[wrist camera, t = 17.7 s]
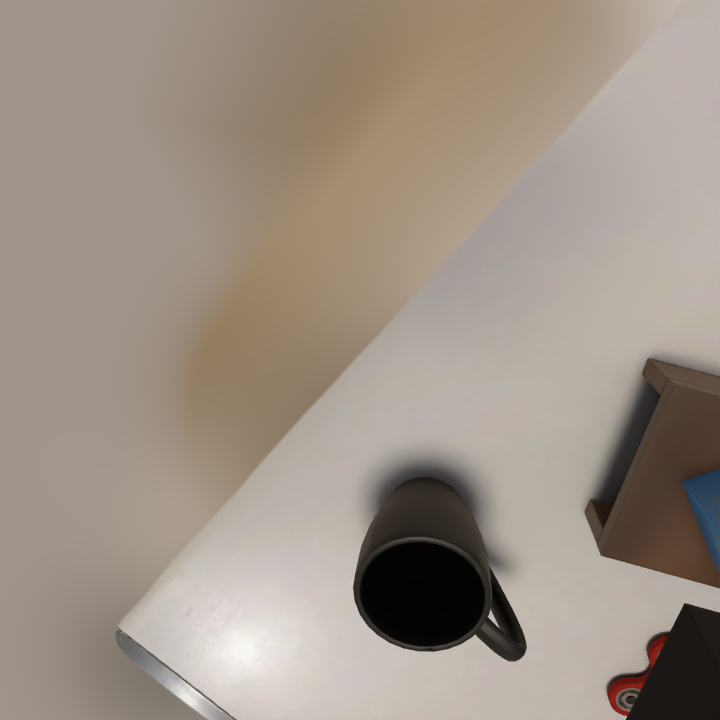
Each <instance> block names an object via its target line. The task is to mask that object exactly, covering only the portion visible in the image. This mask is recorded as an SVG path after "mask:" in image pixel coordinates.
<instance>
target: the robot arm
mask: <svg viewBox="0 0 720 720" xmlns="http://www.w3.org/2000/svg"><path fill="white" fill-rule="evenodd" d="M626 720H720V613H718V612H715V611H711V610H708V609H704V608H700V607H697V606H693V605H690V604H686V603H684V605H683V607H682V609H681V611H680V613H679V615H678V617H677V619H676V621H675V623H674V625H673V627H672V629H671V631H670V633H669V635H668V637H667V639H666V641H665V643H664V645H663V647H662V649H661V651H660V653H659V655H658V657H657V659H656V661H655V663H654V665H653V667H652V669H651V671H650V673H649V675H648V677H647V679H646V681H645V683H644V685H643V687H642V689H641V691H640V693H639V695H638V697H637V699H636V700H635V702H634V704H633V706H632V708H631V710H630V712H629V714H628V716H627V718H626Z"/></svg>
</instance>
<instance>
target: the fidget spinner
mask: <svg viewBox="0 0 720 720" xmlns="http://www.w3.org/2000/svg"><path fill="white" fill-rule="evenodd" d="M667 637H668V636H663V637H660V638H658V639H656V640H655V641H653V642H652V643H651V645H650V646H649V649H648V658H649V660H650V663H651V668H650V670H649V672H648V673H647V674H645V675H644V676H641V677H637V678H634V677H626V678H621V679H619V680H616V681H615V682H614V683H612V684H611V686H610V687H609V689H608V698H609V702H610V704H611V707H612V708H613V709H614V710H615V711H616V712H618V713H619V714H622V715H625V716H628V714H629V712H630V710H631V708H632V706H633V704H634V702H635V700H636V699H637V697H638V695H639V693H640V691H641V689H642V687H643V685H644V683H645V681H646V679H647V677H648V675H649V673H650V671H651V669H652V667H653V665H654V663H655V661H656V659H657V657H658V655H659V653H660V651H661V649H662V647H663V645H664V643H665V641H666V639H667ZM628 696H634V697H632V698H626V697H628Z"/></svg>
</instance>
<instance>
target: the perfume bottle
mask: <svg viewBox="0 0 720 720" xmlns="http://www.w3.org/2000/svg"><path fill="white" fill-rule="evenodd" d="M682 484H683V487H684V489H685V492H686V494H687V497H688V499H689V502H690V504H691V507H692V509H693V512H694V514H695V517H696V519H697V522H698V524H699V527H700V529H701V532H702V535H703V537H704V540H705V542H706V545H707V547H708V550H709V552H710V555H711V557H712V560H713V562H714V565H715V566H716V568H717V569H718V571H719V572H720V469H718V470H715V471H712V472H709V473H706V474H703V475H700V476H697V477H694V478H691V479H688V480H685V481H682Z"/></svg>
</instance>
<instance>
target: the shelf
mask: <svg viewBox="0 0 720 720" xmlns="http://www.w3.org/2000/svg"><path fill="white" fill-rule="evenodd" d="M642 375H643V376H644V378H645V379H646V380H647V381H648V382H649V383H650V384H651V385H652V386H653V387H654V389H655V390H656V391H657V392H658V393H659V394H660V395H661V396H660V399H659V401H658V403H657V406H656V408H655V410H654V413H653V415H652V417H651V420H650V422H649V424H648V427H647V429H646V431H645V434H644V436H643V438H642V441H641V443H640V445H639V448H638V450H637V452H636V455H635V457H634V459H633V462H632V464H631V466H630V469H629V471H628V473H627V476H626V478H625V480H624V483H623V485H622V487H621V490H620V492H619V494H618V497H617V499H616V501H615V504H614V506H612V505H608V504H604V503H600V502H597V501H593V500H590V502H589V504H588V507H587V509H586V511H585V515H586V518H587V520H588V523H589V525H590V528H591V531H592V533H593V536H594V538H595V541H596V543H597V547H598V549H599V552H600V554H601V556H604V557H608V558H612V559H615V560H619V561H623V562H626V563H630V564H634V565H637V566H641V567H644V568H648V569H652V570H655V571H659V572H663V573H666V574H670V575H673V576H677V577H681V578H684V579H688V580H692V581H695V582H699V583H703V584H706V585H710V586H713V587H717V588H720V572H719V571H718V569H717V568H716V566H715V565H714V562H713V560H712V557H711V555H710V552H709V550H708V547H707V545H706V542H705V540H704V537H703V535H702V532H701V529H700V527H699V524H698V522H697V519H696V517H695V514H694V512H693V509H692V507H691V504H690V502H689V499H688V497H687V494H686V492H685V489H684V487H683V484H682V481H685V480H688V479H691V478H694V477H697V476H700V475H703V474H706V473H709V472H712V471H715V470H718V469H720V377H718V376H714V375H711V374H707V373H703V372H699V371H695V370H691V369H687V368H684V367H680V366H676V365H672V364H668V363H664V362H660V361H657V360H653V359H648V361H647V364H646V366H645V369H644V371H643V374H642Z"/></svg>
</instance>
